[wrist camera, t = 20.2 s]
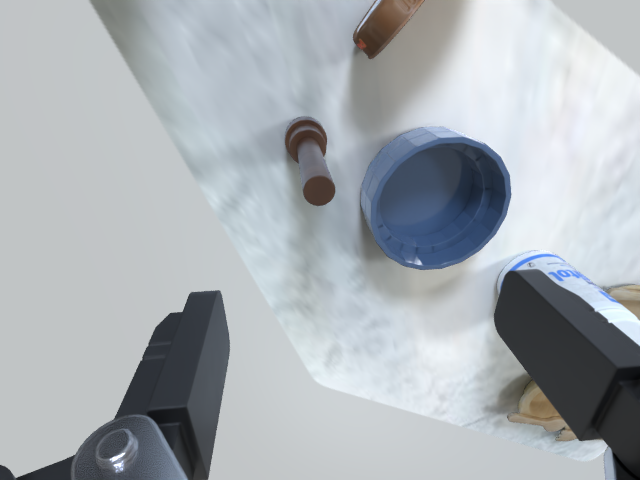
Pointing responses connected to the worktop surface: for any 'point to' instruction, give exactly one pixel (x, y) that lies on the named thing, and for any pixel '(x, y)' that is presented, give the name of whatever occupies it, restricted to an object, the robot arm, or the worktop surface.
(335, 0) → the worktop surface
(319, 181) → the muddler
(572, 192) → the worktop surface
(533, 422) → the tableware set
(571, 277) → the supplement tub
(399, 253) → the bowl
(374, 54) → the tin
